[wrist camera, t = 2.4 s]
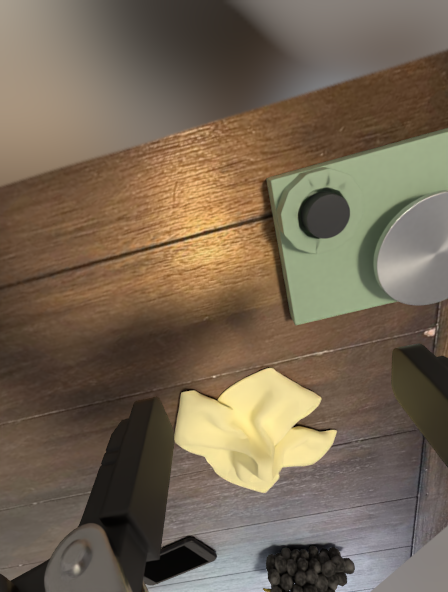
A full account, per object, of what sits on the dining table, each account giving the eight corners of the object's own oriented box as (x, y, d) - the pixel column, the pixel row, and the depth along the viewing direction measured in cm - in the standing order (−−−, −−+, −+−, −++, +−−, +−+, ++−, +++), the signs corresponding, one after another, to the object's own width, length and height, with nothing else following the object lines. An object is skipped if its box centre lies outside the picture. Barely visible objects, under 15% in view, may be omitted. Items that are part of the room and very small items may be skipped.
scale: (290, 315, 29) (300, 335, 26) (265, 178, 23) (274, 182, 20) (456, 275, 27) (488, 291, 24) (474, 120, 22) (519, 114, 19)
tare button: (303, 237, 22) (309, 243, 21) (297, 197, 21) (304, 200, 19) (342, 227, 22) (351, 232, 20) (339, 186, 20) (349, 188, 19)
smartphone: (121, 565, 49) (119, 572, 48) (191, 534, 45) (191, 541, 45) (151, 580, 52) (150, 587, 51) (219, 552, 48) (219, 559, 47)
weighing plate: (374, 313, 25) (377, 316, 24) (371, 208, 21) (375, 209, 20) (483, 287, 24) (489, 290, 24) (501, 174, 20) (509, 174, 20)
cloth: (144, 403, 33) (131, 453, 27) (299, 342, 30) (319, 385, 25) (226, 503, 42) (228, 555, 37) (350, 464, 39) (373, 515, 34)
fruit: (376, 617, 40) (268, 633, 40) (363, 612, 46) (268, 627, 46) (350, 536, 46) (257, 550, 46) (341, 541, 52) (258, 554, 52)
